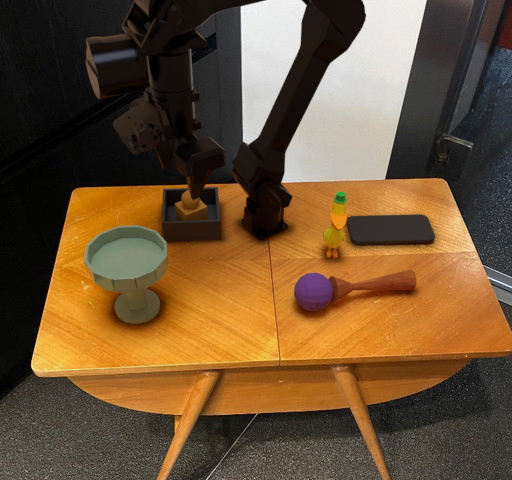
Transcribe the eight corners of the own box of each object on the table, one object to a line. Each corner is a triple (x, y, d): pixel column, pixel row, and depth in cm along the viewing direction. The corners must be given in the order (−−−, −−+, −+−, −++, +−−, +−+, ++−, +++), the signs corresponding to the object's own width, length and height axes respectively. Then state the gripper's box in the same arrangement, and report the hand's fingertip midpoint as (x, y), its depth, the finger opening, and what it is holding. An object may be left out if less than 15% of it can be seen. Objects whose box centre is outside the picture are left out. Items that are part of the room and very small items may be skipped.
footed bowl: (152, 272, 91) (143, 216, 82) (187, 314, 85) (181, 258, 76) (88, 300, 87) (71, 243, 78) (121, 346, 81) (106, 290, 72)
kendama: (425, 283, 85) (305, 299, 80) (410, 305, 90) (296, 320, 85) (411, 253, 88) (293, 266, 83) (397, 276, 93) (286, 289, 88)
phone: (346, 215, 101) (426, 213, 101) (345, 219, 101) (425, 217, 102) (353, 242, 96) (437, 239, 96) (352, 245, 96) (435, 243, 97)
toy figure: (342, 268, 93) (354, 210, 83) (321, 267, 93) (330, 209, 83) (340, 242, 97) (351, 184, 88) (320, 241, 97) (328, 183, 88)
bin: (218, 204, 103) (217, 186, 100) (221, 239, 97) (220, 221, 94) (165, 206, 102) (162, 188, 99) (164, 241, 96) (161, 223, 93)
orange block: (196, 210, 101) (194, 181, 96) (208, 222, 99) (206, 193, 94) (176, 218, 99) (173, 189, 95) (187, 230, 97) (184, 201, 93)
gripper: (87, 69, 75) (107, 169, 87) (147, 130, 65) (161, 233, 77) (160, 52, 79) (170, 150, 91) (227, 107, 69) (228, 208, 81)
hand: (180, 183), depth 85 cm, fingers open, 9 cm apart
